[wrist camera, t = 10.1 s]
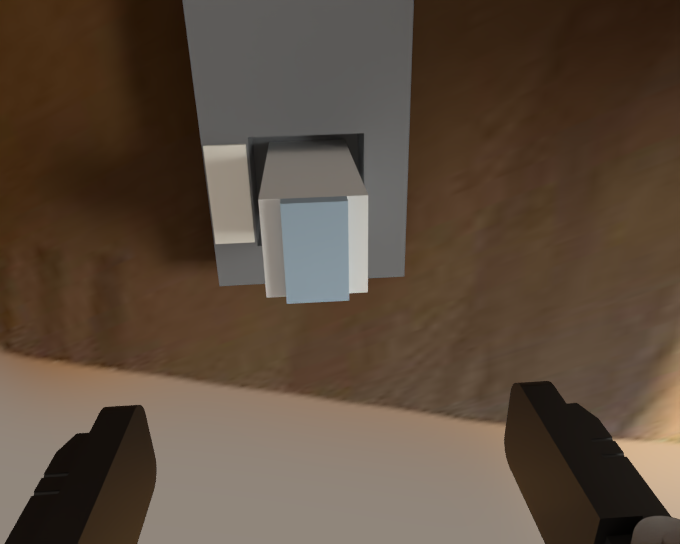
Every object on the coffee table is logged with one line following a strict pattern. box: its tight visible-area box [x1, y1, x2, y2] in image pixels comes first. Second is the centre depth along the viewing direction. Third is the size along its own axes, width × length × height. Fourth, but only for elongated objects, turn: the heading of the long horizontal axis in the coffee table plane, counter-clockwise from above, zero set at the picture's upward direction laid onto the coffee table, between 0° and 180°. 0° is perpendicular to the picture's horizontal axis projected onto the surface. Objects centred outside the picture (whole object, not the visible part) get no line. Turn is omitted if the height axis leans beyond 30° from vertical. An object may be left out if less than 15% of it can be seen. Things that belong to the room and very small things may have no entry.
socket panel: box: [182, 0, 414, 286], centre depth 25 cm, size 10×24×4 cm, turn 1°
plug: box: [258, 140, 368, 304], centre depth 25 cm, size 4×4×11 cm
